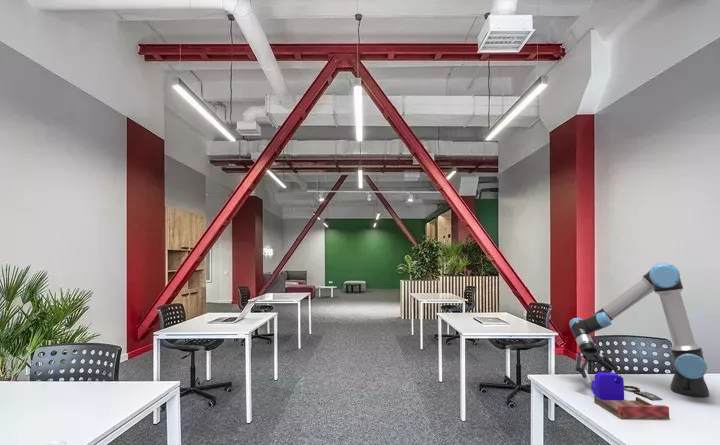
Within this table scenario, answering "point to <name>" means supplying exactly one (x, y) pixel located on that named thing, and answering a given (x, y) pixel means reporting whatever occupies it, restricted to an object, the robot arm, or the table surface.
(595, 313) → the robot arm
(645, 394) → the keychain
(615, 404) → the walnut stop track
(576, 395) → the table surface
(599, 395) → the bracket
